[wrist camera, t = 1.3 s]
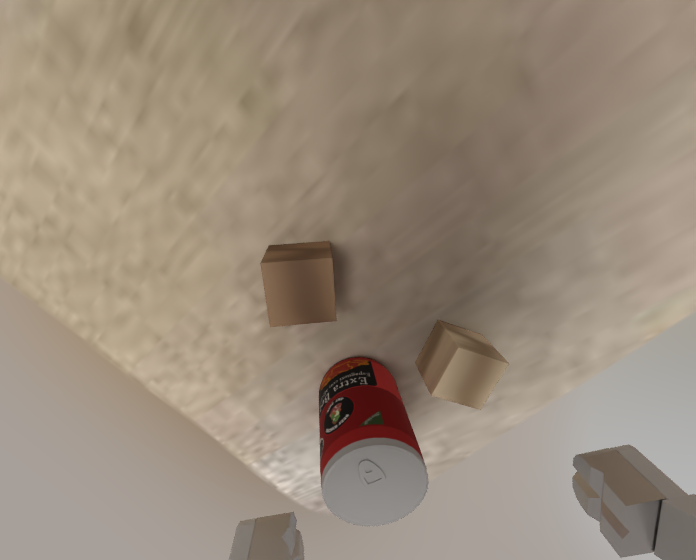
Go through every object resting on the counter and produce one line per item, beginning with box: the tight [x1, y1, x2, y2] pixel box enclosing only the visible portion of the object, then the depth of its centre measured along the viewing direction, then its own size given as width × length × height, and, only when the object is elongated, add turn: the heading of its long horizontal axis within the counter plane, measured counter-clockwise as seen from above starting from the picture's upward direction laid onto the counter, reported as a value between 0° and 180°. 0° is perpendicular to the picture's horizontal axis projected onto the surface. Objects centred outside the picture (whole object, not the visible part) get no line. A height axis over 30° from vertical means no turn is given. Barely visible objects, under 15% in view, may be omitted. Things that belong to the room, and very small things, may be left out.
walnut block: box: [261, 241, 337, 327], centre depth 27 cm, size 5×5×5 cm
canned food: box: [319, 357, 428, 526], centre depth 29 cm, size 8×8×11 cm
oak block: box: [415, 320, 509, 410], centre depth 32 cm, size 5×5×5 cm
